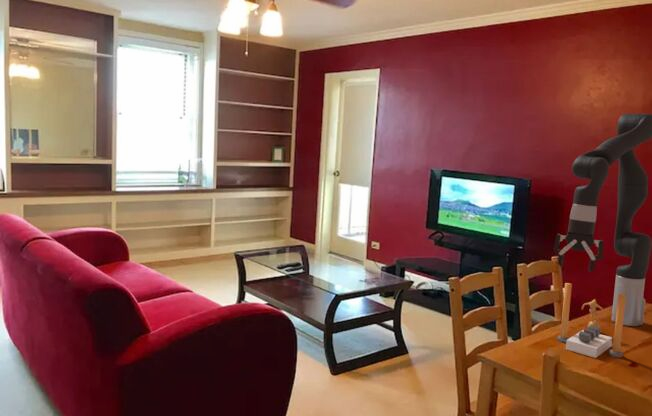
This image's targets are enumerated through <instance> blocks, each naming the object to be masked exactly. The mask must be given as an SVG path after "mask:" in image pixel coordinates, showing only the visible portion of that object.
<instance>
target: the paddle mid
mask: <svg viewBox="0 0 652 416" xmlns="http://www.w3.org/2000/svg"><path fill="white" fill-rule="evenodd" d="M583 330H584V332H586V333H590V334H591V339H593V340H594V339H595V337H596V331H595V330H591V329H588V327H587V328H586V327H585V329H583Z"/></svg>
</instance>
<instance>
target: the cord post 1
mask: <svg viewBox="0 0 652 416" xmlns="http://www.w3.org/2000/svg"><path fill="white" fill-rule="evenodd" d="M572 287H573V284H572V283H569V282H565V283H564V290H563V291H564V293H563V300H562V301H563V304H562V312H561V314H562V316H561V324H560V334H559V335H557V341H558V342H559V343H563V344H565V343H566V340H567V339H569V338H570V336H568V330H569V328H568V327H569V320H570V319H569V317H570V306H571V298H572Z"/></svg>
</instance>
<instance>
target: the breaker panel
mask: <svg viewBox="0 0 652 416" xmlns="http://www.w3.org/2000/svg"><path fill="white" fill-rule="evenodd" d="M584 330H585V329H582V330H580V331H579V332H577V333H576V334H574V335H572V336H571V337H569V339H567V340H566V344H565V350H567V351H570V352H573V353H577V354H580V355H583V356H587V357H591V358H595V359H596V358H598V357H599V356H601V355H602V354H604V352H605V351H607V350H608V349H610V348H611V347H612V345H613V344H612V343H613V337H612V336H608V335H604V334H601V333H600V335H599V336H598V337H597V336H596V337H595V339H594V340H593V339H591V341H590V342H589V343H587V342H584V341H580V340H579V333H580V332H581V331H582V332H584Z"/></svg>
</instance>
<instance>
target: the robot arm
mask: <svg viewBox="0 0 652 416" xmlns="http://www.w3.org/2000/svg"><path fill="white" fill-rule="evenodd" d="M616 133H617V135H616V136H613V137H610V138H608V139H607V140H605V141H603V142H602V143H601V144H600V145H599V146H597V147H596V148H595V149H592V150H589V151H587V152H584V153H583V154H580V155H578V157H577V158H575V160H574V161H573V163H572V166H571V172H572V174H573V175H574V176H575V177H576V178H579V179H585V180H589V182H588V183H587V185H580V186H577V187H575V189H574V195H573V201H572V207H571V210H570V214H569V220H568V221H569V222H568V228H567V233H566V235H562V234H560V233H557V234H556V237H555V242H554V246H553V252H554V253H555V254H557V255H558V258H557V265H559V268H562V267H563V264H564V263H563V262H564V256H565V255H564V254H566V252H568V251H569V250H572V251H579V252H585V251H586V253H587V254H588V256H589V258H590V260H589V266H588V272H589V273H591V272H592V271H594V269H595V263H596V261H597V260H602V259H603V253H604V252H603V250H604V241H603V239H600V240H598V239H594V235H595V234H594V233H595V227H596V221H597V215H598V213H597V212H598V211H597V210H598V203H599V202H598V201H599V195H600V193H601V190H602V187H603V185H604V183H605V181H606V180H607V177H608V175H609V171H610V166H612V165H613V164H614V163H615V162H617V161H618V179H617V210H616V211H617V213H616V223H615V228H614V229H615V231H614V236H613V237H614V238H613V247H614V251H615V253H616V254H617V255H619V256H622V257H627V258H630V259H631V262H630V264H625V265H619V266H617V268H616V272H615V273H616V274H615V280H614V281H615V283H614V291H613V300H612V302H613V303H612V312H611V322H614V323H616V313H617V304H618V294H623V295H626V300H625V309H624V318H623V326H629V327H638V326H643V325H644V317H645V316H644V315H645V306H646V299H645V298H644V291H645V285H646V284H645V283H646V275H647V271H648V269H649V264H650V263H649V262H650V258H651V254H652V253H651V252H652V238H651V236H649V235H648V234H646V233H640V232H635V231H632V225H633V224H632V223H633V219H634V216H635V215H636V213H638V211H639V210H640V208H641V207H642V206H643V204H644V203H645V201H646V200H647V197H648V192H649V191H648V189H649V186H648V184H649V178H648V175H647V172H646V171H645V169H644V168H643V166H642V165H641V163H640V161H639V160H638V158H637V155H636V153H635V151H634V148H637V147H638V146H640V145H642V144H644V143H645V142H647V141H650V140H651V139H652V114H651V113H647V112H645V113H644V112H643V113H642V112H641V113H624V114H622V115H621V116H619V119H618V121H617V128H616ZM563 240H565V242H566V243H567V245H566V246H564V247H563V248H562V249H559V246H560V242H563ZM594 244H595V247H597V255H596V254H595V255H594V252H593V251H592V250H591V246H593V245H594Z"/></svg>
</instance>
